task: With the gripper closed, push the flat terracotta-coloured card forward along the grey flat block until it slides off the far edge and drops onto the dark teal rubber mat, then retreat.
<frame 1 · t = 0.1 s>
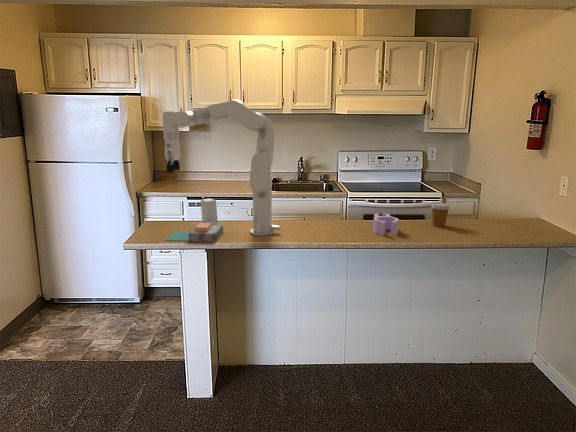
hand: (173, 171, 227), 31 cm above the table, fingers open, 9 cm apart
clip: (384, 230, 236), on the table
mat: (181, 236, 224), on the table
skincare box: (209, 226, 242), on the table
grey flat block: (206, 236, 223), on the table
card: (203, 229, 222), point 4 cm above the table, touching grey flat block
disposable coffee cup: (438, 226, 245), on the table
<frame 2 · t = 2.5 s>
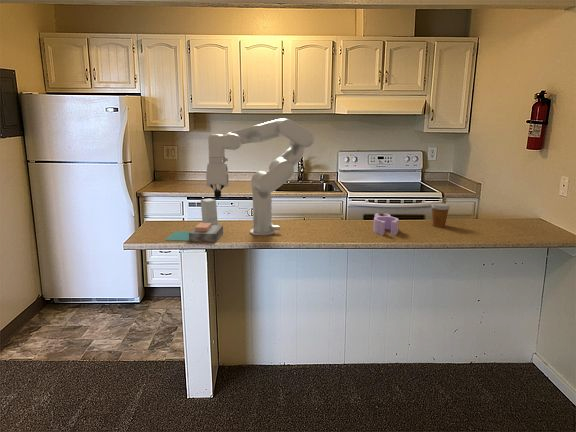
hand: (217, 198, 218), 20 cm above the table, fingers closed
nothing on the table moved.
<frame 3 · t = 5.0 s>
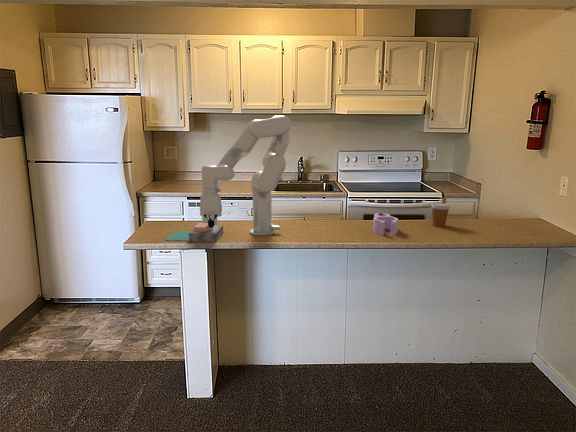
hand: (211, 227, 221), 5 cm above the table, fingers closed
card: (202, 228, 222), point 4 cm above the table, touching grey flat block, gripper
everything else where it was.
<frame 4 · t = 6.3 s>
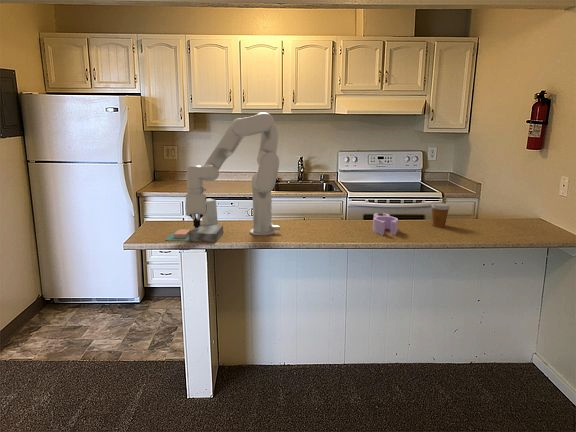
hand: (197, 227, 222), 5 cm above the table, fingers closed
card: (182, 231, 223), point 2 cm above the table, tilted 180°, touching mat
everything else where it was.
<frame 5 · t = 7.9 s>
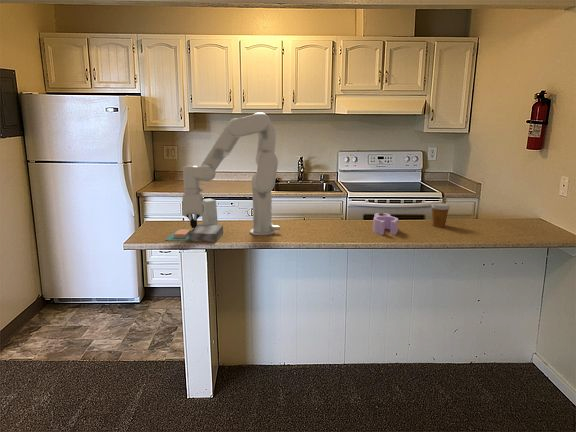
hand: (193, 227, 222), 5 cm above the table, fingers closed
nothing on the table moved.
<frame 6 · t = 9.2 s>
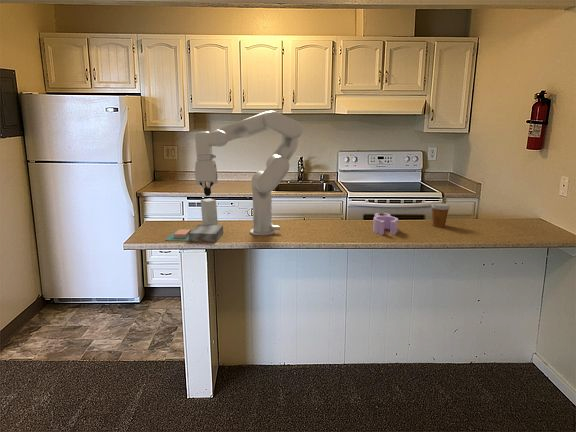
hand: (207, 195, 218), 21 cm above the table, fingers closed
nothing on the table moved.
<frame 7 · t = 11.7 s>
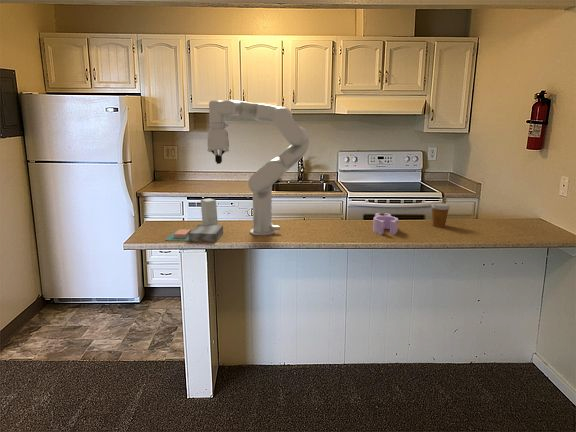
hand: (218, 163, 226), 35 cm above the table, fingers closed
at the end: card point 2.3 cm above the table; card inside the target area on the mat (0.5 cm from its centre), point 2.3 cm above the mat's base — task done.
